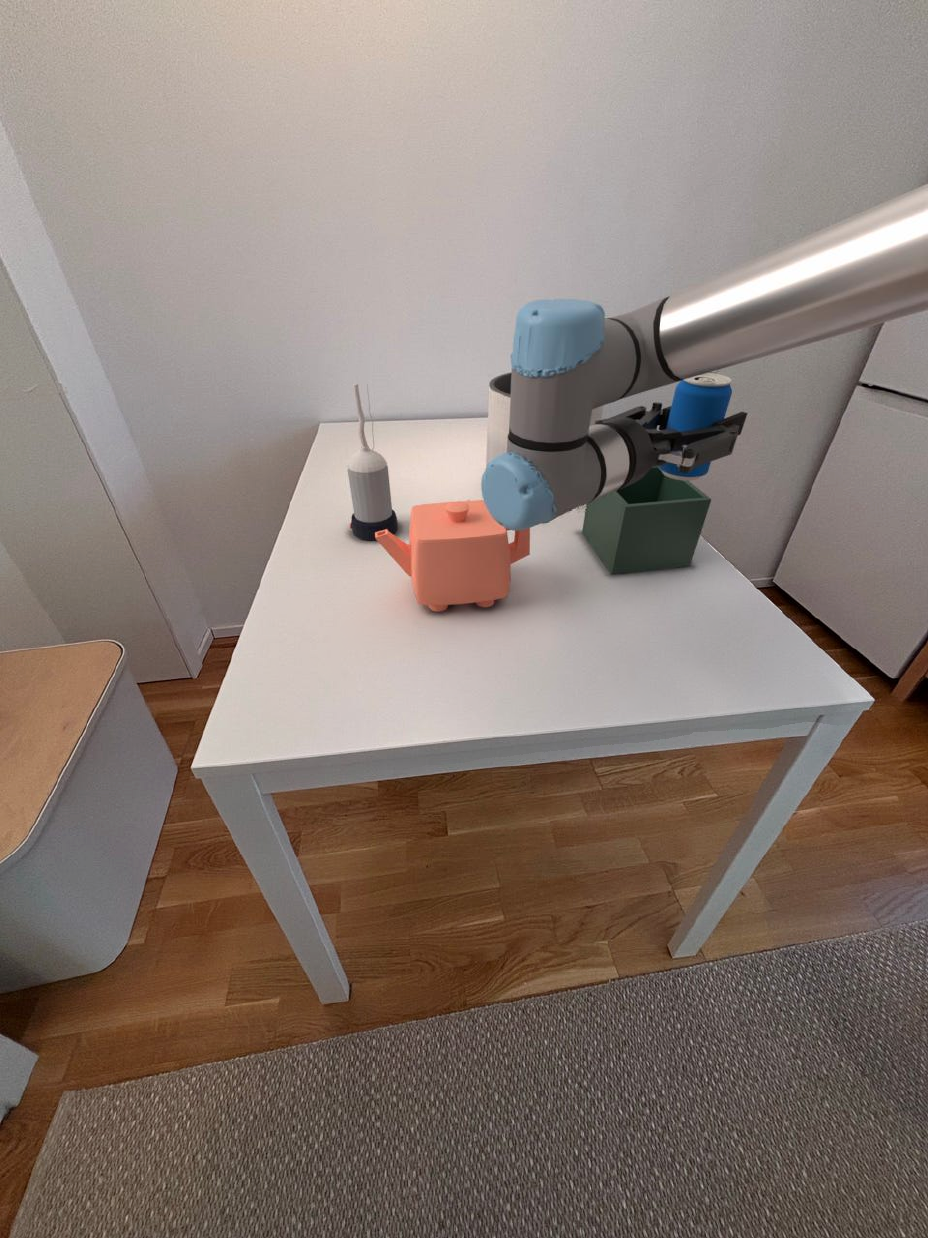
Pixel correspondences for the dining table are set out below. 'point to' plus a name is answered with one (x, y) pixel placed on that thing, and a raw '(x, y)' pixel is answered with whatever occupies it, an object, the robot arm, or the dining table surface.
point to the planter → (507, 416)
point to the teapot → (456, 554)
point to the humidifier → (369, 487)
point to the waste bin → (647, 524)
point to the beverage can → (697, 413)
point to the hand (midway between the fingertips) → (715, 416)
